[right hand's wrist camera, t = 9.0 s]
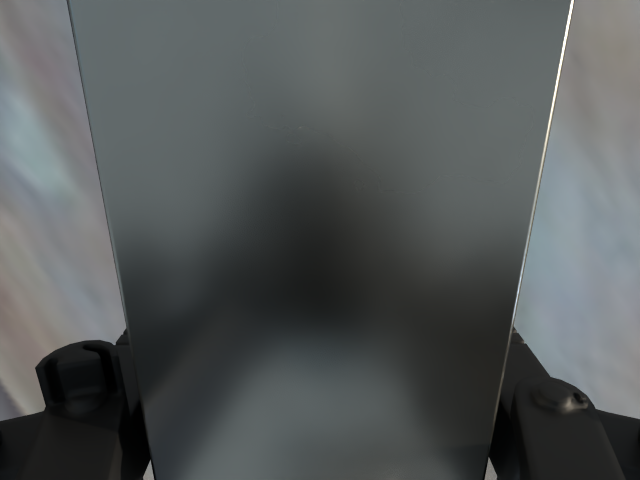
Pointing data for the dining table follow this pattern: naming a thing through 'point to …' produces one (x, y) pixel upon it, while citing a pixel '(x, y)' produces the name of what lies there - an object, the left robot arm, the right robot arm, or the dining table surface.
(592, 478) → the right robot arm
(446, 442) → the bar
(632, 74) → the dining table surface
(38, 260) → the dining table surface
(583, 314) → the dining table surface
